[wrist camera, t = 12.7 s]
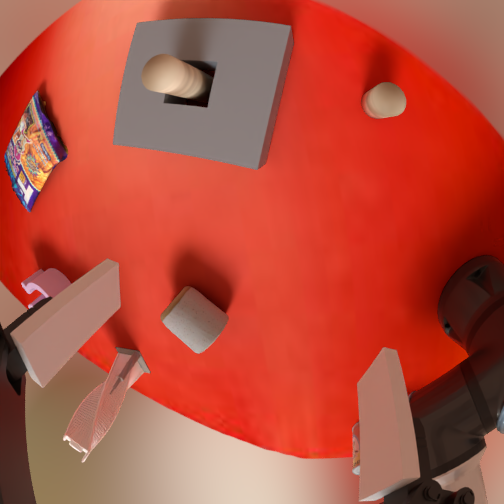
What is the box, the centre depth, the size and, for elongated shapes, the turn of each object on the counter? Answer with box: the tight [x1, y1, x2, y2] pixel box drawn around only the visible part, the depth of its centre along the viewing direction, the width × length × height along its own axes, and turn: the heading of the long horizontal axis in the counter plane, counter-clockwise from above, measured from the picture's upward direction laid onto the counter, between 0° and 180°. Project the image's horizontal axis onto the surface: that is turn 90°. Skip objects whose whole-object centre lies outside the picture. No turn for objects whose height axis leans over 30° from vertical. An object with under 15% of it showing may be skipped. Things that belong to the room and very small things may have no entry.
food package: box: [4, 91, 68, 212], centre depth 36 cm, size 22×25×4 cm
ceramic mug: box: [161, 286, 229, 353], centre depth 40 cm, size 11×8×8 cm
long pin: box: [141, 54, 214, 102], centre depth 24 cm, size 4×4×12 cm
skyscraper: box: [63, 347, 151, 462], centre depth 42 cm, size 8×8×28 cm
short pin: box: [361, 82, 406, 119], centre depth 24 cm, size 4×4×6 cm
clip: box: [22, 268, 71, 309], centre depth 47 cm, size 20×12×7 cm, turn 78°
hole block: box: [113, 18, 294, 170], centre depth 26 cm, size 18×16×6 cm
